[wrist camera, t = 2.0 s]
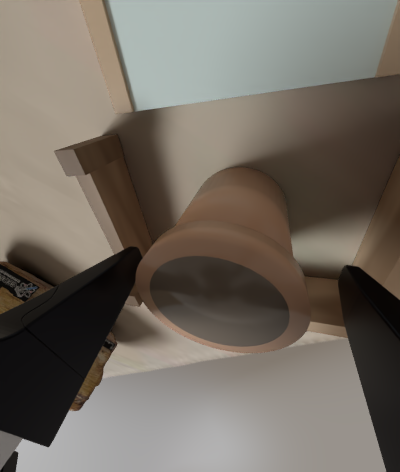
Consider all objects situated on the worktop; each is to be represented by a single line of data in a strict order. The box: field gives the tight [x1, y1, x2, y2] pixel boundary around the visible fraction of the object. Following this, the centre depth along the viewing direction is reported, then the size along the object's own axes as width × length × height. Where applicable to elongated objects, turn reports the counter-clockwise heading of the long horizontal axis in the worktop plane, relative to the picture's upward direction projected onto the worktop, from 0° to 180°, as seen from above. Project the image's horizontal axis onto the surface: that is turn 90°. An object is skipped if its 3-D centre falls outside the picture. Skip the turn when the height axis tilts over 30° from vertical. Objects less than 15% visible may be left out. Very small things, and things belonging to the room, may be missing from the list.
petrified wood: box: [0, 262, 117, 411], centre depth 27 cm, size 19×13×10 cm
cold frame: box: [54, 134, 400, 338], centre depth 11 cm, size 16×11×4 cm
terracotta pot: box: [136, 167, 311, 353], centre depth 10 cm, size 6×6×7 cm
